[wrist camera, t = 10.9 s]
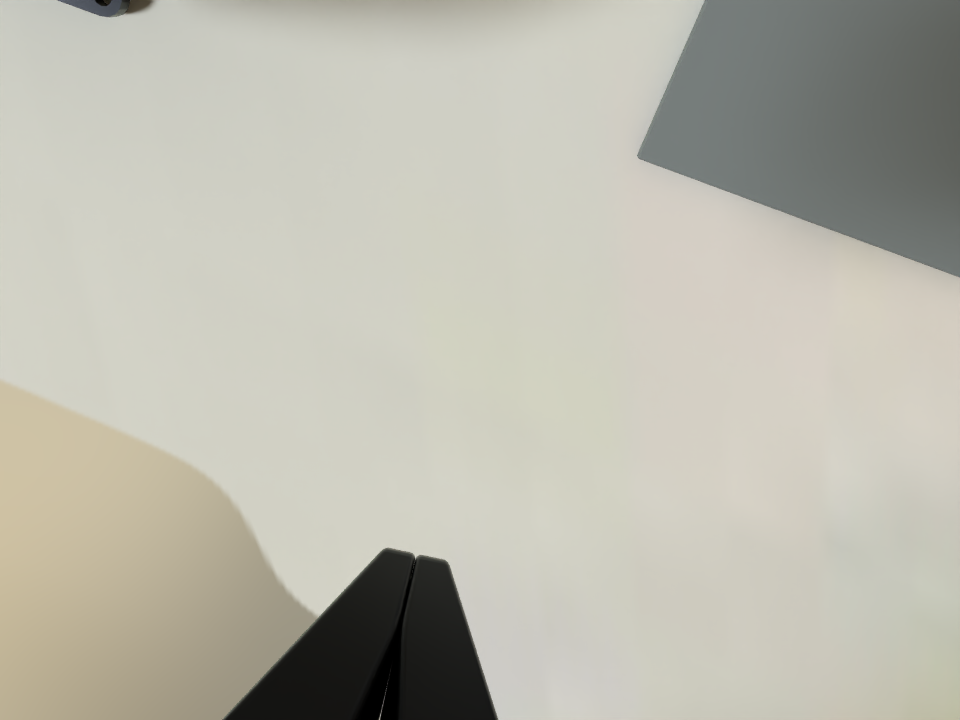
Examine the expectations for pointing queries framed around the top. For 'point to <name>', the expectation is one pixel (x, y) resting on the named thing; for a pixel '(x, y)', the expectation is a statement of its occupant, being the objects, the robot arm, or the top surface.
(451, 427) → the top surface
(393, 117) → the top surface
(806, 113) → the mat
